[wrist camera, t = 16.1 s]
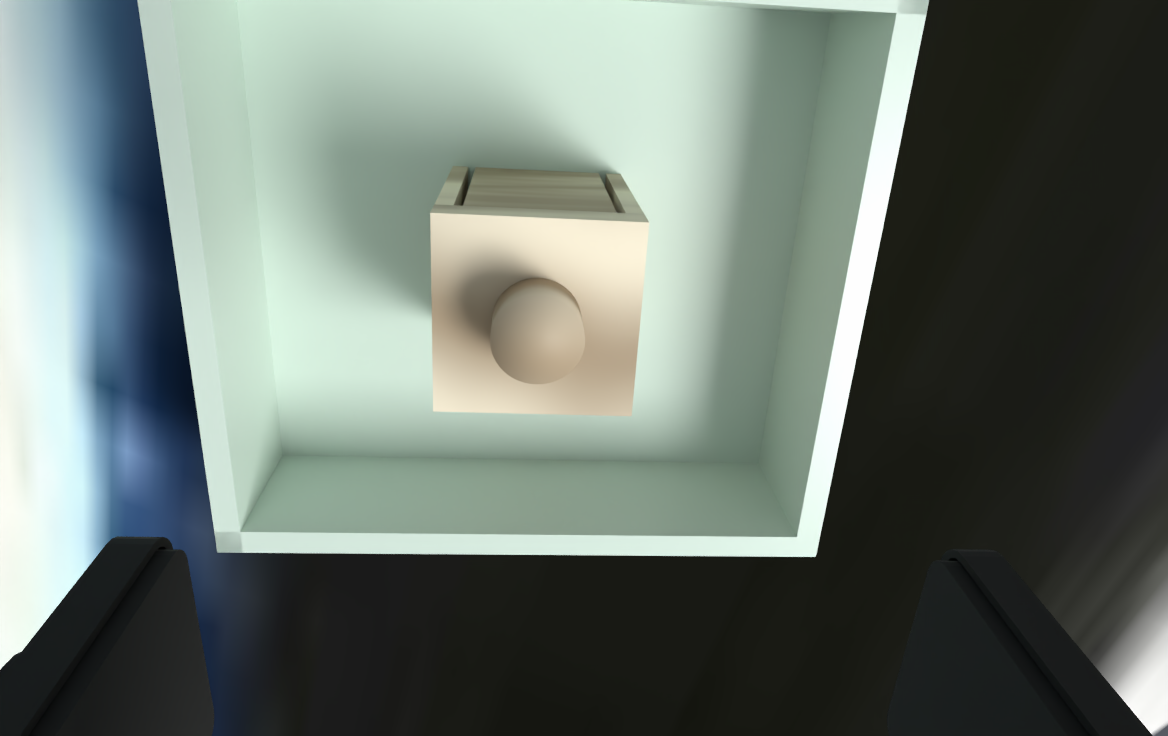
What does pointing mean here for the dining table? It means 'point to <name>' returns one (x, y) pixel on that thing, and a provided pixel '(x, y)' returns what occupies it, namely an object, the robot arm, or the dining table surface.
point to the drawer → (536, 292)
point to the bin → (532, 142)
